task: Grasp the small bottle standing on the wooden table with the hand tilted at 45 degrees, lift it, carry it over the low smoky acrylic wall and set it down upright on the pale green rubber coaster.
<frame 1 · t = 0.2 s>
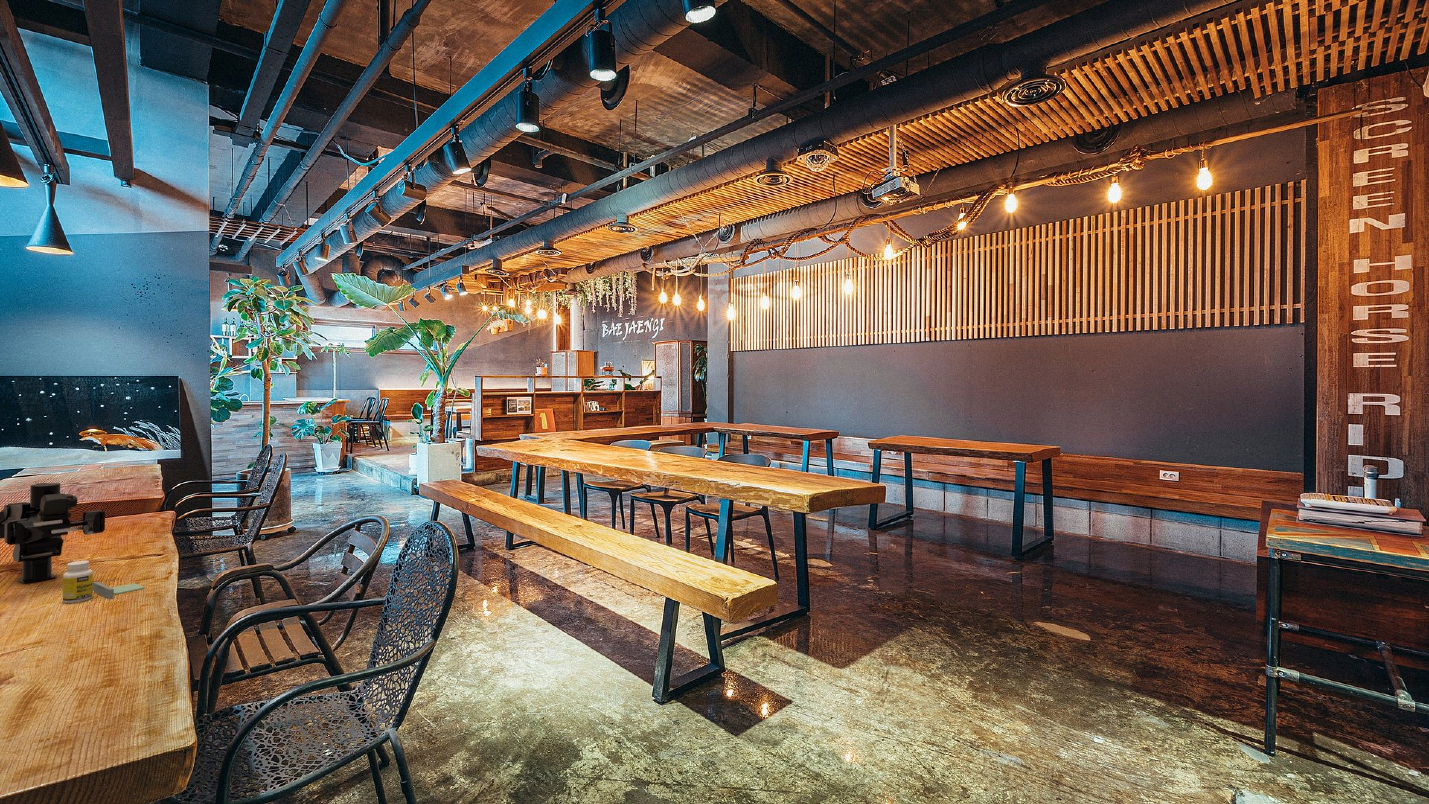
hand: (67, 532, 163), 17 cm above the table, tool horizontal, fingers open, 9 cm apart
supplement bottle: (77, 601, 160), on the table
coaster: (125, 589, 169), on the table
acrylic wall: (103, 595, 164), on the table
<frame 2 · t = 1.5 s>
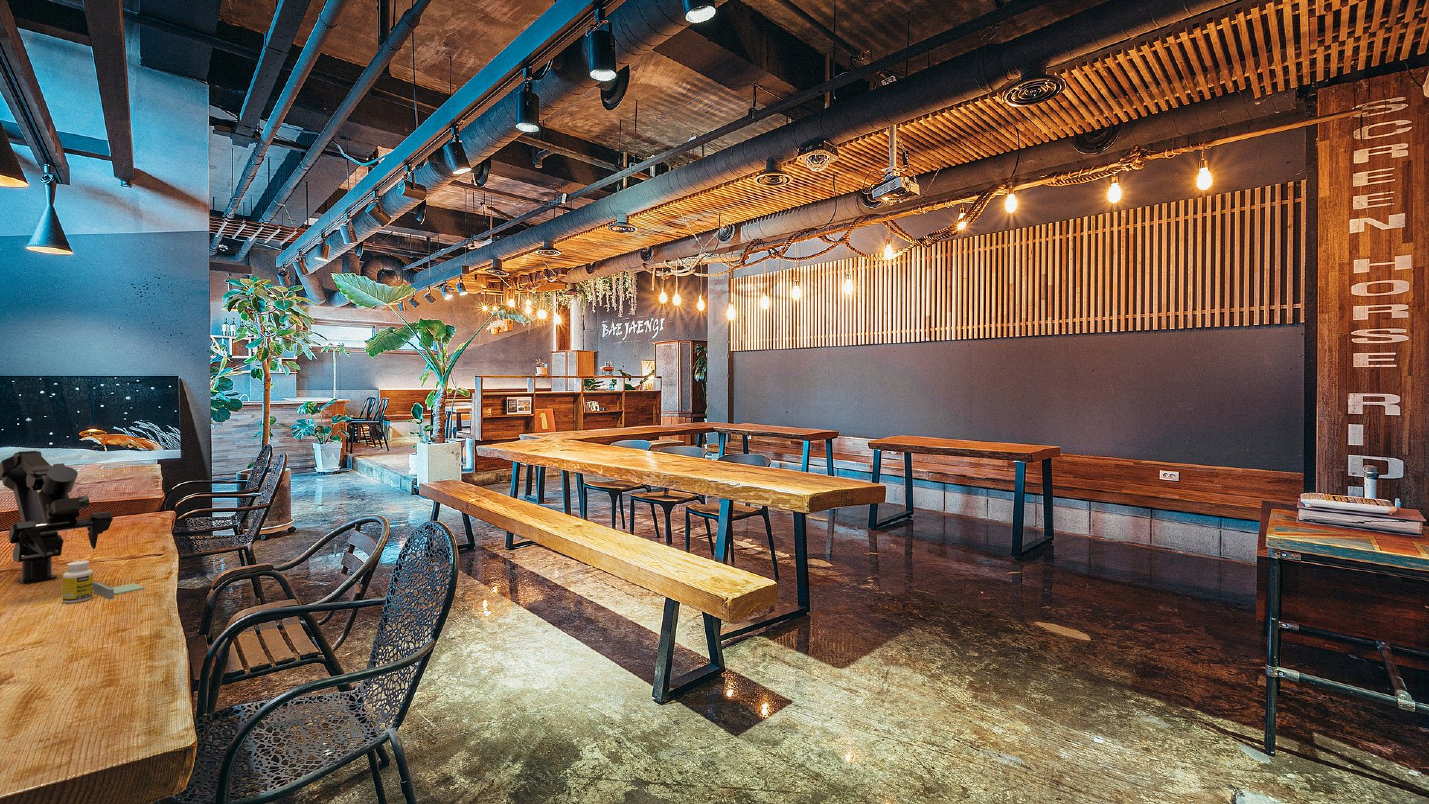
hand: (70, 551, 162), 12 cm above the table, tool tilted 45°, fingers open, 9 cm apart
nothing on the table moved.
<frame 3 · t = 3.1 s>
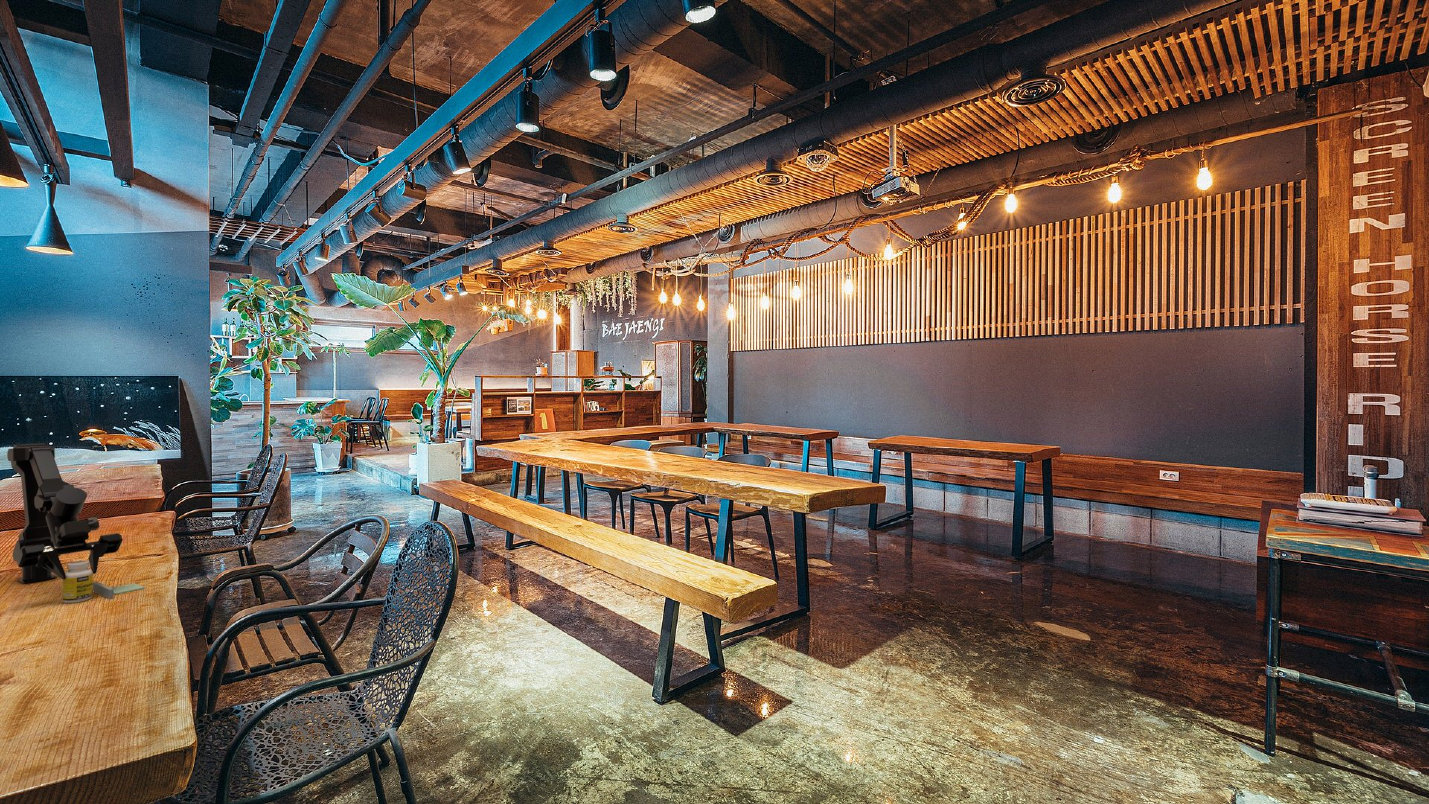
hand: (80, 575, 159), 7 cm above the table, tool tilted 45°, fingers closed on supplement bottle, 5 cm apart
supplement bottle: (77, 600, 160), on the table, touching gripper
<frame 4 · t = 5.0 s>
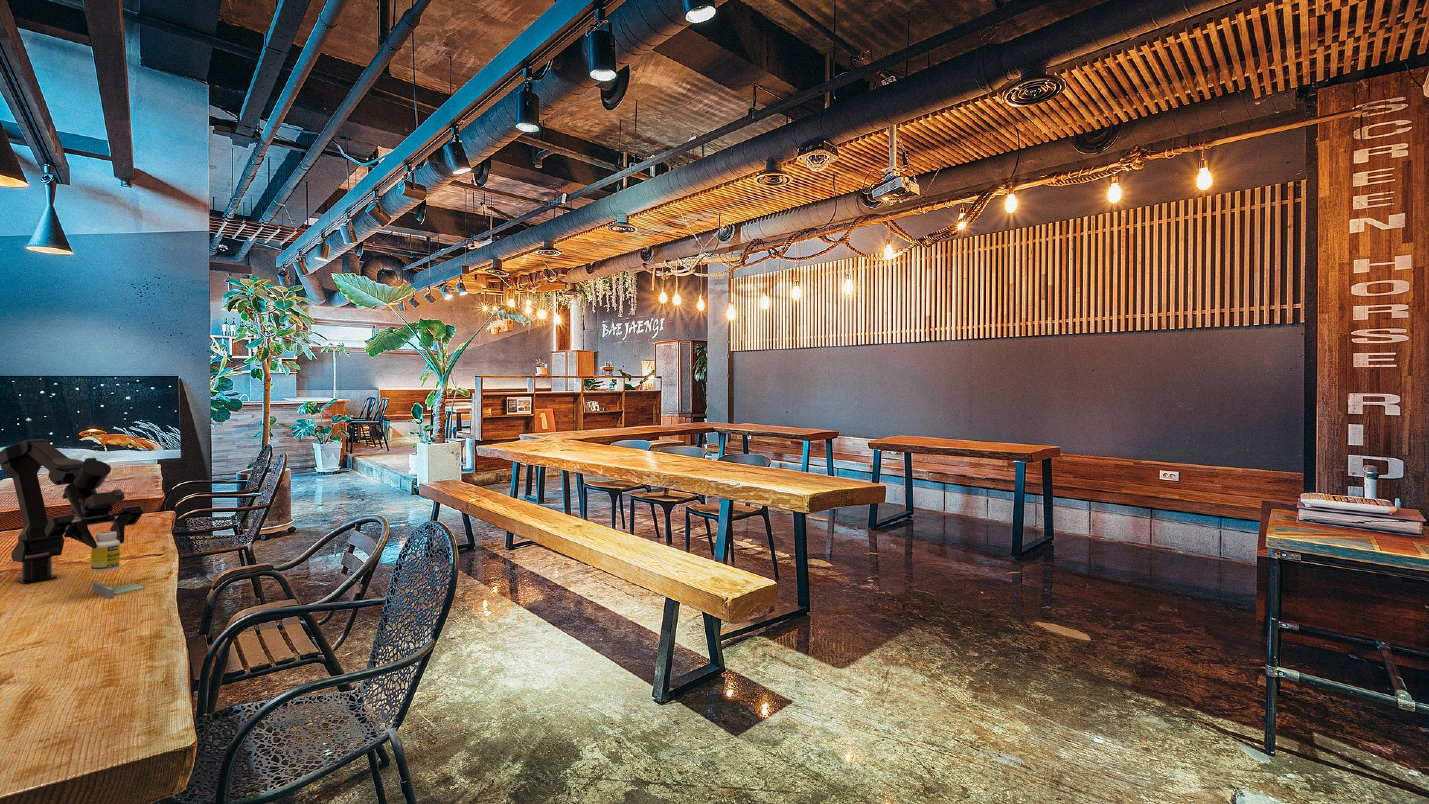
hand: (109, 544, 164), 13 cm above the table, tool tilted 45°, fingers closed on supplement bottle, 5 cm apart
supplement bottle: (105, 570, 165), point 6 cm above the table, touching gripper
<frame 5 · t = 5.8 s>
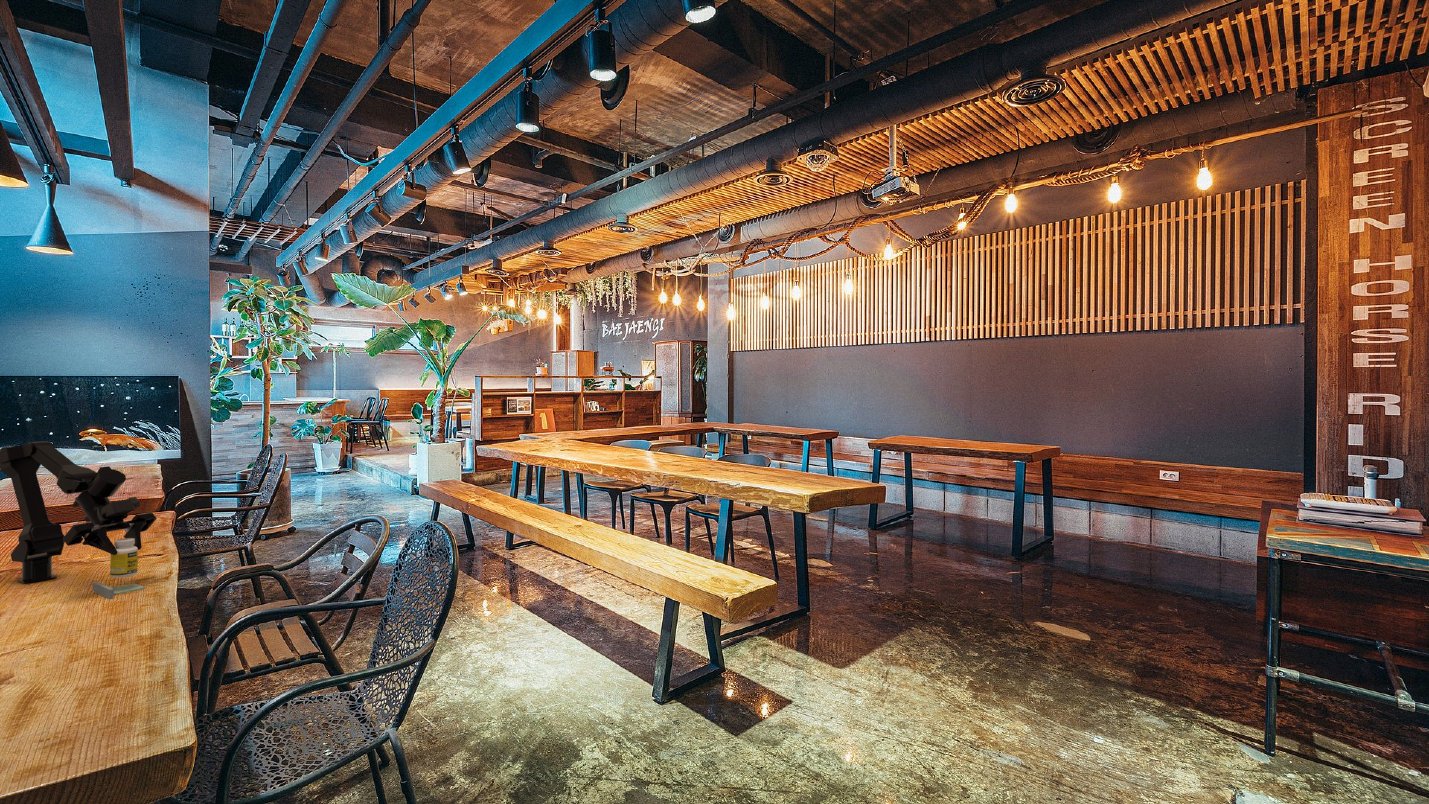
hand: (128, 551, 168), 11 cm above the table, tool tilted 45°, fingers closed on supplement bottle, 5 cm apart
supplement bottle: (124, 576, 169), point 4 cm above the table, touching gripper
when the fingers open (8 cm above the table, at t = 6.6 s): supplement bottle drops 1 cm, resting on coaster.
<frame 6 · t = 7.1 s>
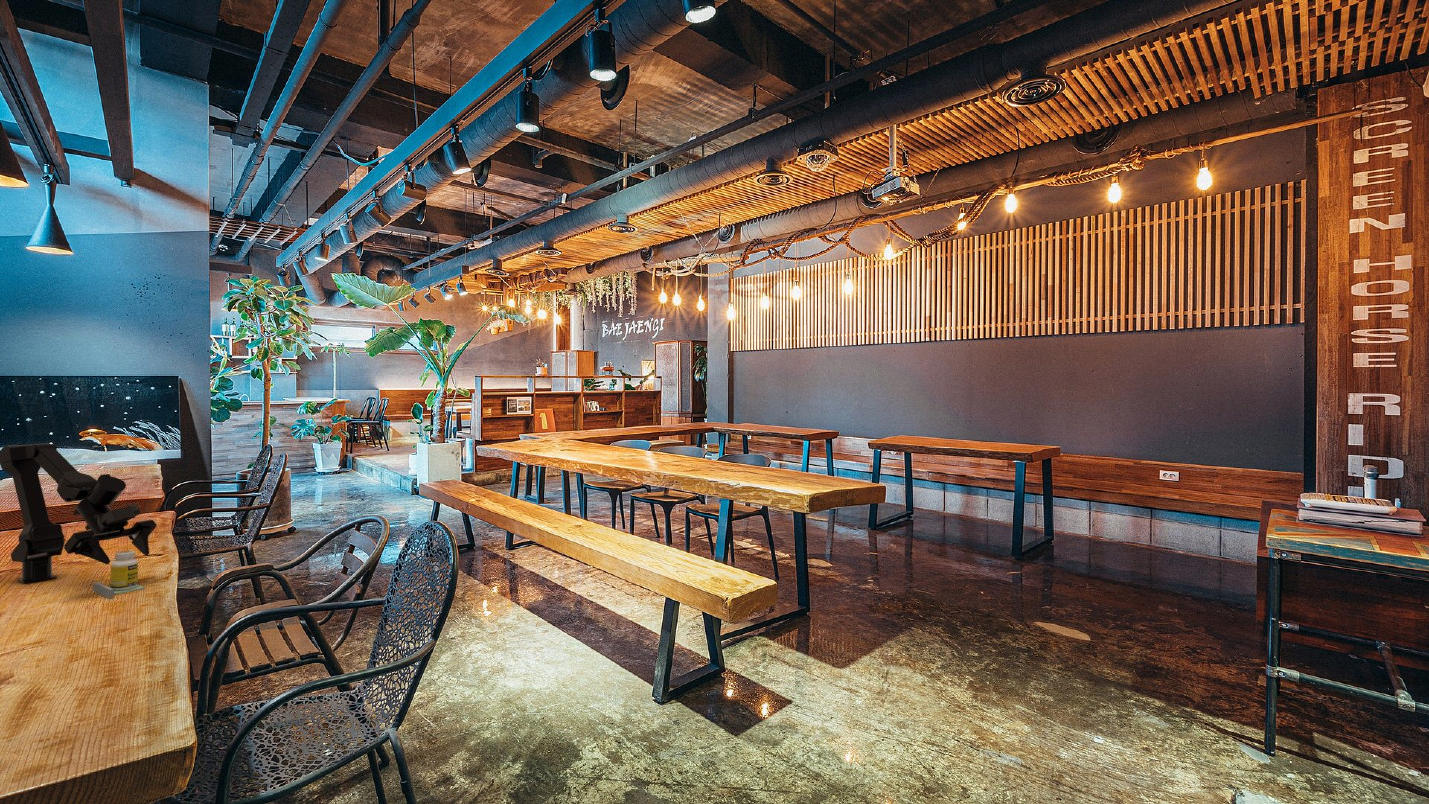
hand: (128, 558, 168), 9 cm above the table, tool tilted 45°, fingers open, 9 cm apart
supplement bottle: (124, 588, 169), resting on coaster
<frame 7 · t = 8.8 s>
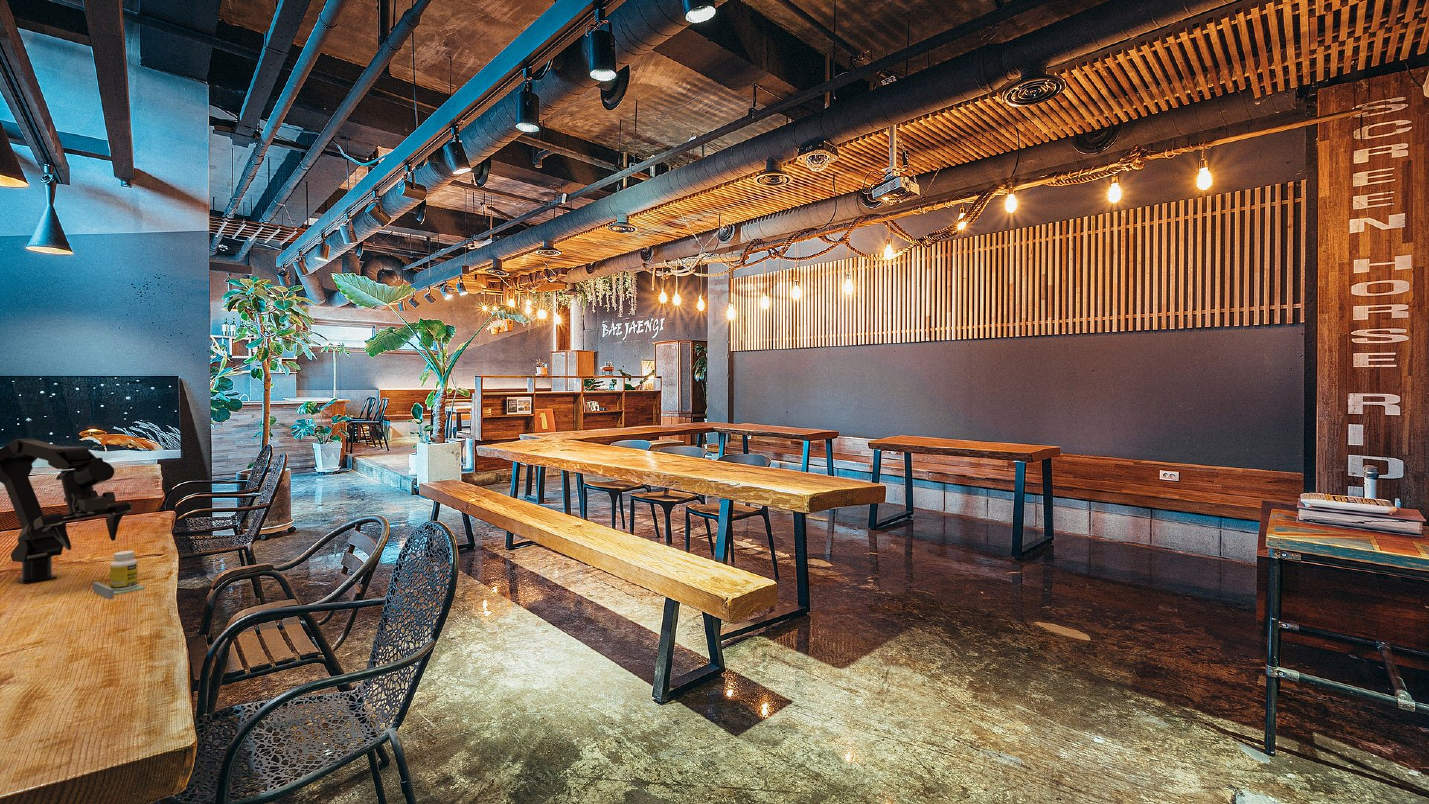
hand: (92, 545, 171), 11 cm above the table, tool tilted 20°, fingers open, 9 cm apart
nothing on the table moved.
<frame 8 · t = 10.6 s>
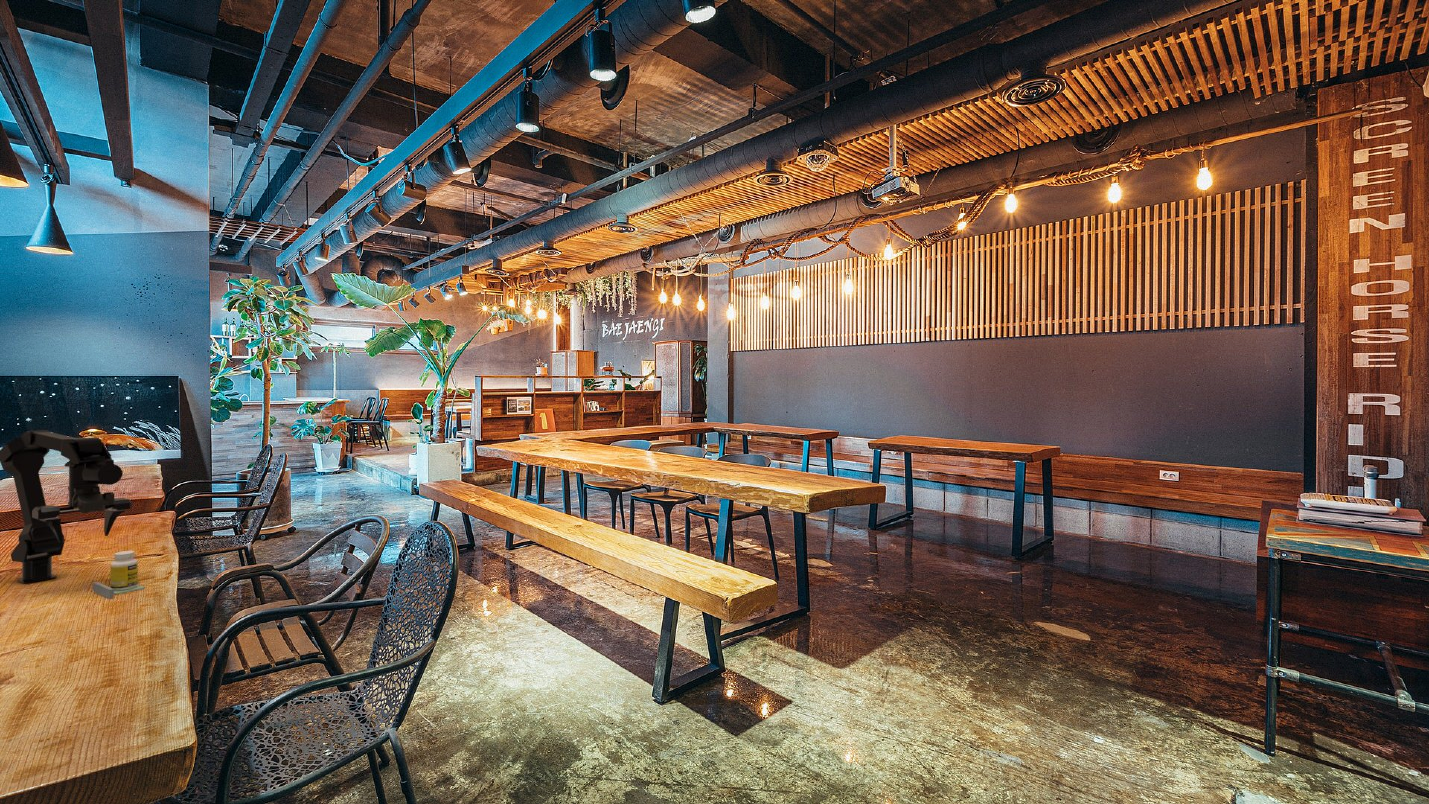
hand: (83, 539, 171), 13 cm above the table, tool pointing down, fingers open, 9 cm apart
nothing on the table moved.
at the end: supplement bottle inside the target area on the coaster (0.2 cm from its centre), point 0.2 cm above the coaster's base; supplement bottle tilted 1°; the gripper is holding nothing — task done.
